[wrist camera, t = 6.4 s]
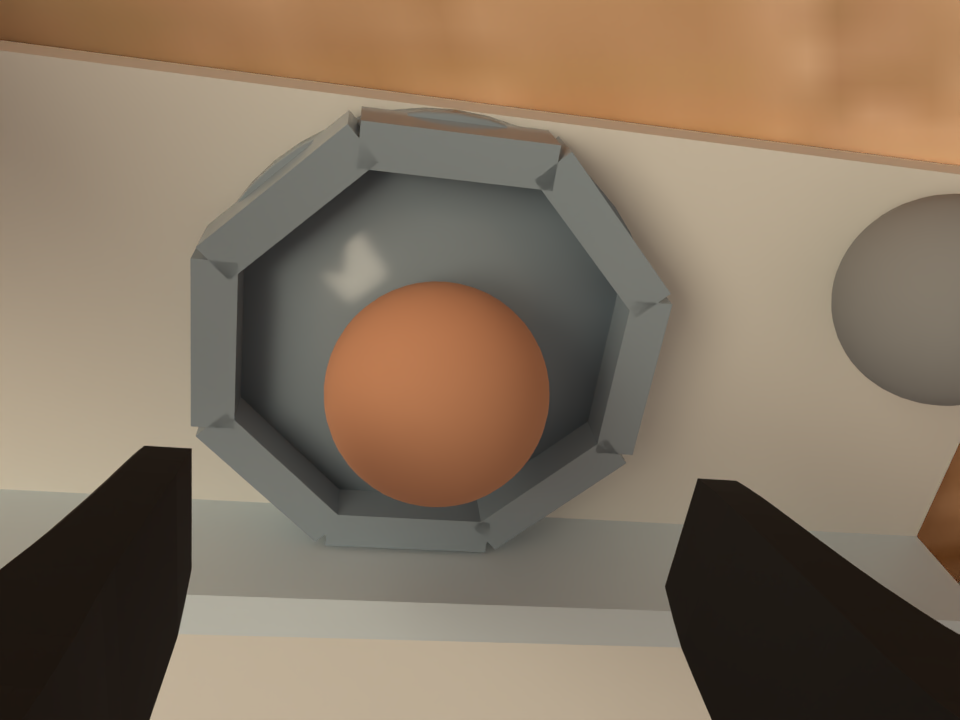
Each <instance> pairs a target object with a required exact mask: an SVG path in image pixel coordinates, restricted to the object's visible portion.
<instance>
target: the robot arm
mask: <svg viewBox="0 0 960 720" xmlns="http://www.w3.org/2000/svg"><path fill="white" fill-rule="evenodd" d="M191 570H192V448H177V447H160V446H143V447H142V448H141V449H139V450H138V451H137V452H136V453H134V454H133V455H132V456H131V457H130V458H129V459H128V460H127V461H126V462H125V463H124V464H123V465H122V466H120V467H119V468H118V469H117V470H116V471H115V472H114V473H113V474H112V475H111V476H110V477H109V478H108V479H107V480H106V481H105V482H103V483H102V484H101V485H100V486H99V487H98V488H97V489H96V490H95V491H94V492H93V493H91V494H90V495H89V496H88V497H87V498H86V499H85V500H84V501H83V502H82V503H80V504H79V505H78V506H77V507H76V508H75V509H73V510H72V511H71V512H70V513H69V514H68V515H67V516H65V517H64V518H63V519H62V520H61V521H60V522H58V523H57V524H56V525H55V526H54V527H53V528H51V529H50V530H49V531H48V532H47V533H46V534H44V535H43V536H42V537H41V538H40V539H38V540H37V541H36V542H35V543H33V544H32V545H31V546H29V547H28V548H27V549H26V550H24V551H23V552H22V553H20V554H19V555H18V556H16V557H15V558H14V559H13V560H11V561H10V562H9V563H7V564H6V565H5V566H4V567H2V568H1V569H0V720H150V717H151V714H152V711H153V708H154V706H155V703H156V700H157V697H158V694H159V691H160V688H161V685H162V682H163V679H164V676H165V673H166V670H167V667H168V664H169V661H170V658H171V655H172V652H173V649H174V646H175V643H176V640H177V637H178V633H179V628H180V624H181V619H182V614H183V610H184V605H185V600H186V595H187V590H188V585H189V580H190V575H191ZM665 589H666V593H667V597H668V601H669V605H670V609H671V613H672V617H673V621H674V624H675V628H676V631H677V635H678V638H679V642H680V645H681V648H682V651H683V653H684V656H685V658H686V661H687V663H688V666H689V668H690V670H691V673H692V675H693V678H694V680H695V682H696V685H697V687H698V689H699V692H700V694H701V696H702V699H703V701H704V703H705V706H706V708H707V710H708V713H709V715H710V717H711V720H960V634H958V633H956V632H954V631H953V630H951V629H949V628H948V627H946V626H944V625H943V624H941V623H939V622H938V621H936V620H935V619H933V618H931V617H930V616H928V615H927V614H925V613H923V612H922V611H920V610H919V609H917V608H916V607H914V606H913V605H911V604H910V603H908V602H907V601H905V600H904V599H902V598H901V597H899V596H898V595H896V594H895V593H893V592H892V591H890V590H889V589H887V588H886V587H884V586H883V585H881V584H880V583H879V582H877V581H876V580H874V579H873V578H871V577H870V576H869V575H867V574H866V573H864V572H863V571H862V570H860V569H859V568H857V567H856V566H855V565H853V564H852V563H850V562H849V561H848V560H846V559H845V558H843V557H842V556H841V555H839V554H838V553H837V552H835V551H834V550H833V549H831V548H830V547H829V546H827V545H826V544H824V543H823V542H822V541H820V540H819V539H818V538H816V537H815V536H814V535H812V534H811V533H810V532H808V531H807V530H806V529H804V528H803V527H802V526H800V525H799V524H798V523H796V522H795V521H794V520H792V519H791V518H790V517H788V516H787V515H786V514H784V513H783V512H782V511H780V510H779V509H778V508H776V507H775V506H773V505H772V504H771V503H769V502H768V501H767V500H765V499H764V498H762V497H761V496H759V495H758V494H757V493H755V492H754V491H752V490H751V489H749V488H748V487H746V486H744V485H743V484H741V483H740V482H738V481H734V480H717V479H700V478H698V479H697V482H696V486H695V489H694V492H693V496H692V499H691V502H690V505H689V509H688V512H687V515H686V518H685V522H684V525H683V528H682V532H681V535H680V538H679V541H678V545H677V548H676V551H675V555H674V558H673V561H672V564H671V568H670V571H669V574H668V578H667V581H666V584H665Z"/></svg>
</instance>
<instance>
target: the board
mask: <svg viewBox="0 0 960 720" xmlns="http://www.w3.org/2000/svg"><path fill="white" fill-rule="evenodd" d="M362 106H364V107H372V108H380V109H387V110H395V109H409V108H423V107H425V108H441V109H456V110H461V111H467V112H472V113H477V114H482V115H487V116H490V117H493V118H496V119H499V120H501V121H504V122H507V123H510V124H513V125H516V126H521V127H528V128H536V129H544V130H549V131H550V133H551V134H552V135H553V136H554V137H555V139H556V138H557V137H558V136H559V137H560V138H561V139H562V141H563V142H564V143H565V144H566V145H567V146H568V148H569V149H570V150H571V151H572V152H573V154H574V155H575V157H576V158H577V160H578V161H579V162H580V164H581V165H582V167H583V168H584V170H585V171H586V172H587V174H588V175H589V176H590V177H591V178H592V179H593V180H594V182H595V183H596V184H597V185H598V186H599V188H600V189H601V190H602V191H603V193H604V194H605V195H606V196H607V198H608V199H609V200H610V201H611V203H612V204H613V205H614V206H615V208H616V209H617V211H618V213H619V214H620V216H621V218H622V219H623V221H624V223H625V224H626V226H627V228H628V229H629V231H630V233H631V236H632V238H633V240H634V242H635V243H636V244H637V246H638V247H639V249H640V250H641V252H642V253H643V254H644V256H645V257H646V259H647V260H648V262H649V263H650V265H651V266H652V267H653V269H654V270H655V272H656V273H657V275H658V276H659V277H660V279H661V280H662V282H663V283H664V285H665V286H666V288H667V289H668V290H669V292H670V293H671V294H670V295H668V296H667V298H668V299H669V301H670V302H671V303H672V308H671V312H670V316H669V319H668V323H667V327H666V331H665V334H664V338H663V342H662V346H661V349H660V353H659V357H658V361H657V365H656V368H655V372H654V376H653V380H652V383H651V387H650V391H649V395H648V398H647V402H646V406H645V410H644V414H643V417H642V421H641V425H640V429H639V432H638V436H637V440H636V444H635V448H634V451H633V455H625V454H622V455H623V457H624V459H625V461H626V464H624V465H623V466H621V467H620V468H618V469H617V470H615V471H614V472H612V473H611V474H609V475H608V476H606V477H605V478H603V479H602V480H600V481H599V482H597V483H596V484H594V485H593V486H591V487H590V488H588V489H587V490H585V491H584V492H582V493H581V494H579V495H577V496H576V497H574V498H573V499H571V500H570V501H568V502H567V503H565V504H564V505H562V506H561V507H559V508H558V509H556V510H555V511H553V512H552V513H550V514H549V515H547V516H546V517H551V518H570V519H590V520H609V521H629V522H648V523H667V524H684V522H685V518H686V515H687V512H688V509H689V505H690V502H691V499H692V496H693V492H694V489H695V486H696V482H697V479H698V478H700V479H717V480H734V481H738V482H740V483H741V484H743V485H744V486H746V487H748V488H749V489H751V490H752V491H754V492H755V493H757V494H758V495H759V496H761V497H762V498H764V499H765V500H767V501H768V502H769V503H771V504H772V505H773V506H775V507H776V508H778V509H779V510H780V511H782V512H783V513H784V514H786V515H787V516H788V517H790V518H791V519H792V520H794V521H795V522H796V523H798V524H799V525H800V526H802V527H803V528H804V529H806V530H807V531H823V532H842V533H861V534H881V535H900V536H917V534H918V532H919V530H920V528H921V526H922V524H923V521H924V519H925V517H926V515H927V513H928V510H929V508H930V506H931V504H932V502H933V500H934V497H935V495H936V493H937V491H938V489H939V487H940V484H941V482H942V480H943V478H944V476H945V473H946V471H947V469H948V467H949V465H950V463H951V460H952V458H953V456H954V454H955V452H956V450H957V447H958V445H959V443H960V405H956V406H938V405H929V404H922V403H918V402H914V401H911V400H908V399H904V398H901V397H899V396H896V395H894V394H892V393H890V392H888V391H886V390H884V389H882V388H881V387H879V386H878V385H876V384H875V383H873V382H872V381H871V380H869V379H868V378H867V377H866V376H864V375H863V374H862V373H861V372H860V371H859V370H858V369H857V367H856V366H855V365H854V364H853V363H852V362H851V360H850V359H849V357H848V356H847V355H846V353H845V351H844V349H843V348H842V346H841V344H840V341H839V339H838V337H837V334H836V330H835V327H834V323H833V319H832V311H831V300H832V288H833V282H834V279H835V275H836V272H837V270H838V267H839V265H840V262H841V260H842V258H843V257H844V255H845V253H846V251H847V250H848V248H849V247H850V245H851V244H852V242H853V241H854V240H855V239H856V238H857V237H858V235H859V234H860V233H861V232H862V231H863V230H864V229H865V228H866V227H867V226H869V225H870V224H871V223H872V222H874V221H875V220H876V219H878V218H879V217H880V216H882V215H883V214H885V213H887V212H888V211H890V210H892V209H894V208H896V207H898V206H900V205H902V204H905V203H908V202H910V201H913V200H917V199H920V198H924V197H928V196H933V195H943V194H960V166H957V165H949V164H942V163H934V162H927V161H919V160H911V159H904V158H896V157H888V156H881V155H873V154H866V153H858V152H850V151H843V150H835V149H827V148H820V147H812V146H805V145H797V144H789V143H782V142H774V141H766V140H759V139H751V138H744V137H736V136H728V135H721V134H713V133H705V132H698V131H690V130H683V129H675V128H667V127H660V126H652V125H644V124H637V123H629V122H622V121H614V120H606V119H599V118H591V117H583V116H576V115H568V114H561V113H553V112H545V111H538V110H530V109H522V108H515V107H507V106H500V105H492V104H484V103H477V102H469V101H461V100H454V99H446V98H439V97H431V96H423V95H416V94H408V93H400V92H393V91H385V90H378V89H370V88H362V87H355V86H347V85H339V84H332V83H324V82H317V81H309V80H301V79H294V78H286V77H279V76H271V75H263V74H256V73H248V72H240V71H233V70H225V69H218V68H210V67H202V66H195V65H187V64H179V63H172V62H164V61H157V60H149V59H141V58H134V57H126V56H118V55H111V54H103V53H96V52H88V51H80V50H73V49H65V48H57V47H50V46H42V45H35V44H27V43H19V42H12V41H4V40H0V489H8V490H27V491H47V492H66V493H85V494H91V493H93V492H94V491H95V490H96V489H97V488H98V487H99V486H100V485H101V484H102V483H103V482H105V481H106V480H107V479H108V478H109V477H110V476H111V475H112V474H113V473H114V472H115V471H116V470H117V469H118V468H119V467H120V466H122V465H123V464H124V463H125V462H126V461H127V460H128V459H129V458H130V457H131V456H132V455H133V454H134V453H136V452H137V451H138V450H139V449H141V448H142V447H143V446H160V447H177V448H192V499H202V500H221V501H241V502H260V503H271V502H270V501H268V500H267V499H266V498H265V497H264V496H263V495H262V494H260V493H259V492H258V491H257V490H256V489H255V488H254V487H253V486H251V485H250V484H249V483H248V482H247V481H246V480H245V479H243V478H242V477H241V476H240V475H239V474H238V473H237V472H236V471H234V470H233V469H232V468H231V467H230V466H229V465H228V464H226V463H225V462H224V461H223V460H222V459H221V458H220V457H219V456H217V455H216V454H215V453H214V452H213V451H212V450H211V449H209V448H208V447H207V446H206V445H205V444H204V443H203V442H202V441H200V440H199V439H198V438H197V437H196V433H197V430H198V427H193V426H191V276H190V258H191V256H192V255H193V253H194V251H195V249H196V246H197V244H198V242H199V240H200V238H201V236H202V234H203V233H204V231H205V229H206V227H207V225H208V224H210V223H211V222H212V221H213V220H214V219H216V218H217V217H218V216H219V215H221V214H222V213H223V212H224V211H226V210H227V209H228V208H229V207H230V206H232V205H233V204H234V203H235V202H236V201H237V200H238V199H239V198H240V196H241V195H242V194H243V192H244V191H245V190H246V189H247V187H248V186H249V185H250V184H251V182H252V181H253V180H254V179H255V178H256V177H258V176H259V175H260V174H261V173H262V172H263V171H264V170H265V169H266V168H267V167H268V166H269V165H270V164H271V163H272V162H273V161H274V160H276V159H277V158H279V157H280V156H281V155H283V154H284V153H286V152H287V151H289V150H290V149H291V148H293V147H294V146H296V145H297V144H298V143H300V142H302V141H303V140H305V139H307V138H309V137H311V136H313V135H315V134H317V133H319V132H321V131H323V130H325V129H326V128H327V127H328V126H330V125H331V124H332V123H333V122H335V121H336V120H337V119H338V118H340V117H341V116H342V115H343V114H344V113H346V112H347V111H348V110H350V111H351V112H352V114H353V115H354V116H355V117H356V118H357V117H359V116H361V108H362ZM150 720H711V717H710V715H709V713H708V710H707V708H706V706H705V703H704V701H703V699H702V696H701V694H700V692H699V689H698V687H697V685H696V682H695V680H694V678H693V675H692V673H691V670H690V668H689V666H688V663H687V661H686V658H685V656H684V653H683V651H682V648H681V647H644V646H606V645H569V644H531V643H494V642H457V641H419V640H382V639H344V638H307V637H269V636H232V635H194V634H178V637H177V640H176V643H175V646H174V649H173V652H172V655H171V658H170V661H169V664H168V667H167V670H166V673H165V676H164V679H163V682H162V685H161V688H160V691H159V694H158V697H157V700H156V703H155V706H154V708H153V711H152V714H151V717H150Z"/></svg>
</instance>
